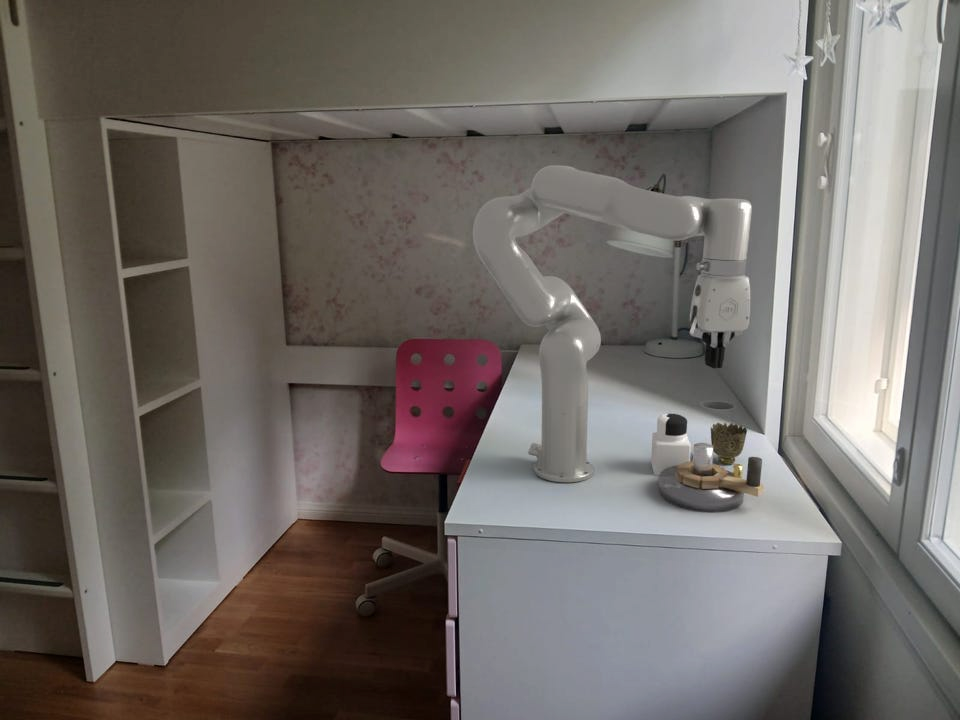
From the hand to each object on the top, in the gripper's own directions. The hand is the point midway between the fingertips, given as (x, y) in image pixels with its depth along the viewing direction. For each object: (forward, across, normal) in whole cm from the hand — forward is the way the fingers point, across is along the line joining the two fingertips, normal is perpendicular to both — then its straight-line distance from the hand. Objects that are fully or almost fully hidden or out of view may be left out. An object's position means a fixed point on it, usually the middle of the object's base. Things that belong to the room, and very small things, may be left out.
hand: (713, 366), depth 136 cm
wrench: (+23, +2, -3) cm, 23 cm away
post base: (+26, 0, 0) cm, 26 cm away
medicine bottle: (+26, 0, +13) cm, 29 cm away
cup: (+26, +14, +13) cm, 32 cm away
